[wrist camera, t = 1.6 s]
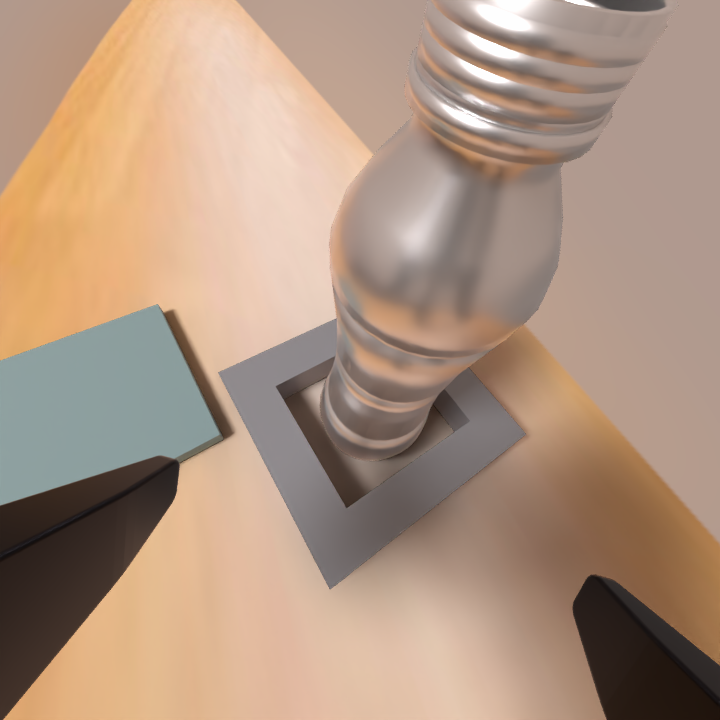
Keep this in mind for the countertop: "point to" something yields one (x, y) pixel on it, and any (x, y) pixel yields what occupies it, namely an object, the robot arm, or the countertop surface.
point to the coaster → (98, 405)
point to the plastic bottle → (467, 200)
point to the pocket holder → (308, 478)
